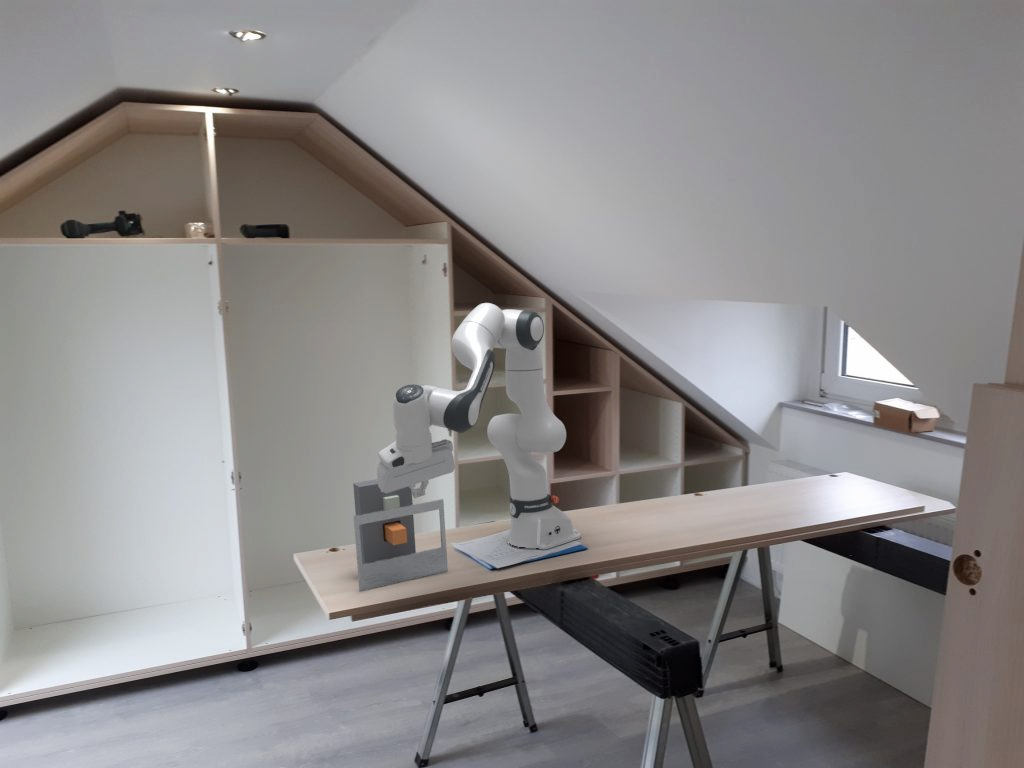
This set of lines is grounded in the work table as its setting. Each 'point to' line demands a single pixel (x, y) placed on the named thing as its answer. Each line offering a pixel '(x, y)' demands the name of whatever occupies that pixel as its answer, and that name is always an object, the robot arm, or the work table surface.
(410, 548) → the panel
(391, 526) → the plunger
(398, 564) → the frame
